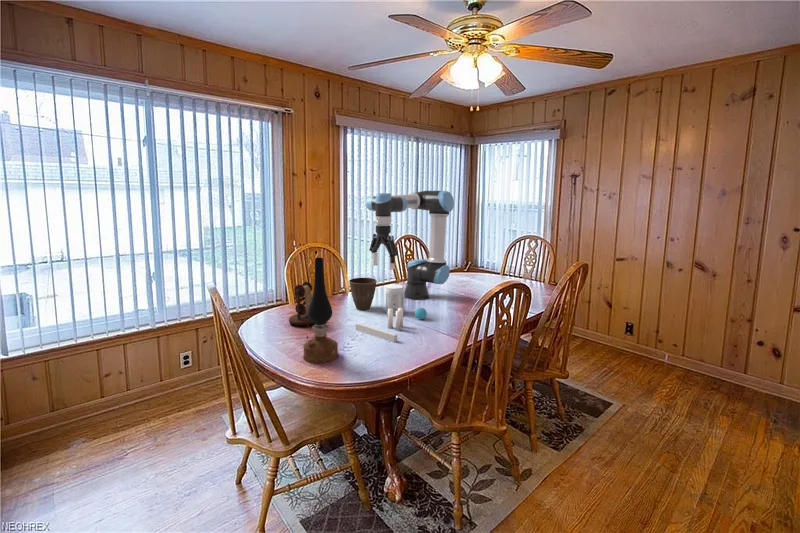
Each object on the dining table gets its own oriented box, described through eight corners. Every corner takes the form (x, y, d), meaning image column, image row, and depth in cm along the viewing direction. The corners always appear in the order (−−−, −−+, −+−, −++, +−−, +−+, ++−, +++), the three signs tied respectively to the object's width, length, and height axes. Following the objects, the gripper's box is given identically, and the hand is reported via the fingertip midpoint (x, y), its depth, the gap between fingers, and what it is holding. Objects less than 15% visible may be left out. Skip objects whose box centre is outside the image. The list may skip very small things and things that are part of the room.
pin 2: (397, 328, 198) (398, 310, 196) (401, 329, 196) (402, 311, 195) (394, 329, 196) (394, 311, 195) (398, 331, 195) (398, 312, 193)
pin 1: (390, 326, 201) (390, 308, 200) (393, 327, 200) (394, 309, 198) (386, 327, 199) (386, 309, 198) (390, 328, 198) (390, 310, 196)
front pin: (400, 325, 203) (400, 307, 201) (403, 326, 201) (404, 308, 200) (396, 326, 201) (397, 308, 200) (400, 327, 200) (400, 309, 198)
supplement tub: (396, 309, 230) (396, 283, 227) (407, 313, 223) (407, 286, 220) (382, 312, 224) (382, 285, 221) (393, 316, 217) (393, 289, 214)
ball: (419, 316, 217) (420, 305, 216) (429, 319, 214) (429, 307, 212) (412, 319, 213) (412, 307, 212) (421, 321, 209) (422, 310, 208)
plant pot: (375, 312, 223) (375, 283, 220) (347, 312, 223) (347, 283, 220) (377, 305, 238) (377, 277, 235) (351, 304, 238) (351, 277, 235)
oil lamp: (339, 358, 171) (352, 261, 171) (335, 367, 156) (349, 261, 156) (305, 354, 171) (318, 257, 171) (298, 362, 155) (312, 256, 155)
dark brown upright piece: (309, 329, 196) (308, 287, 192) (282, 325, 200) (281, 285, 197) (325, 320, 209) (324, 281, 206) (299, 317, 214) (298, 278, 210)
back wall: (359, 328, 197) (359, 322, 197) (397, 341, 182) (397, 334, 181) (355, 329, 196) (355, 323, 195) (394, 342, 180) (394, 335, 180)
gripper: (362, 223, 212) (362, 264, 216) (392, 227, 193) (392, 272, 197) (374, 222, 217) (374, 263, 221) (405, 226, 198) (404, 270, 202)
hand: (383, 267), depth 209 cm, fingers open, 13 cm apart
